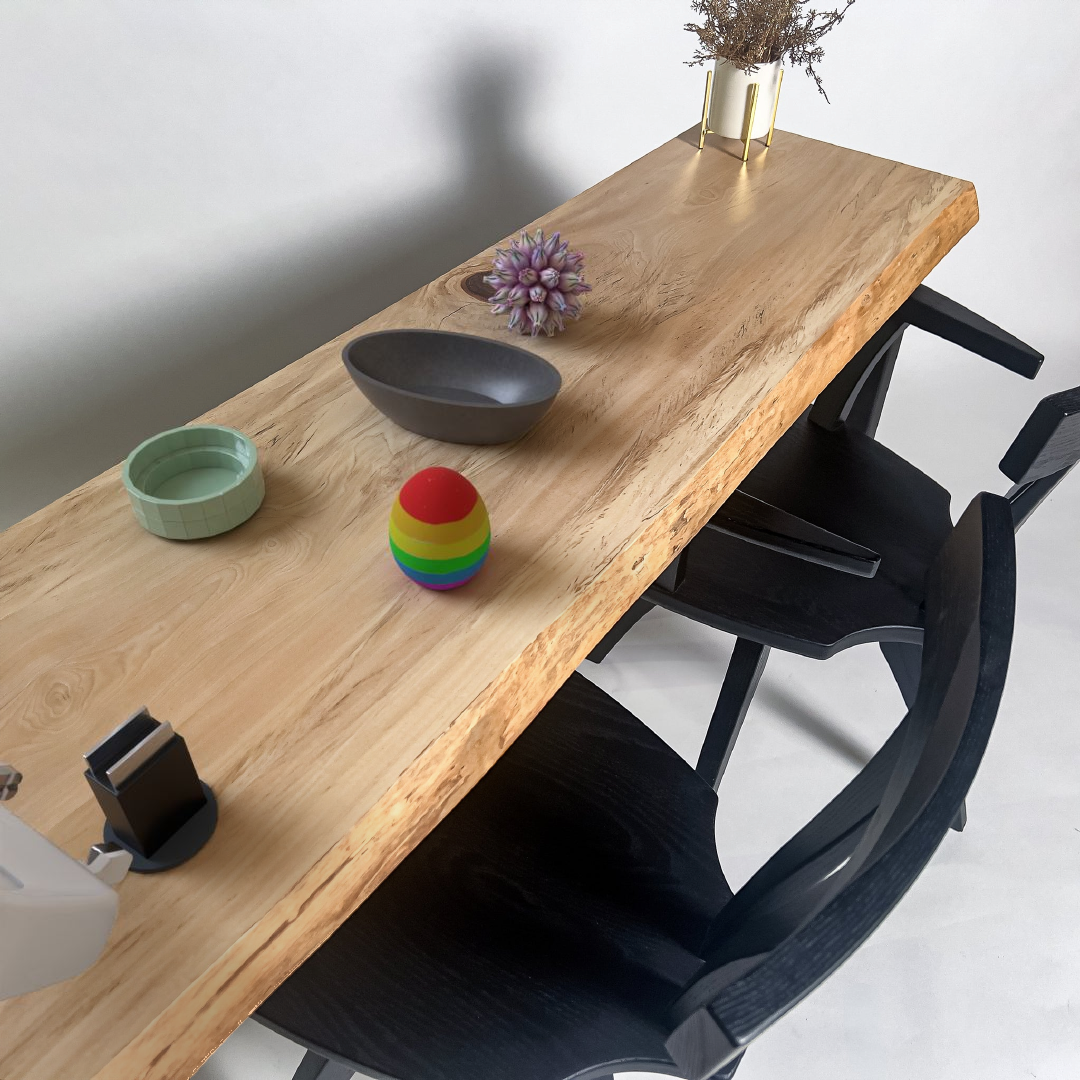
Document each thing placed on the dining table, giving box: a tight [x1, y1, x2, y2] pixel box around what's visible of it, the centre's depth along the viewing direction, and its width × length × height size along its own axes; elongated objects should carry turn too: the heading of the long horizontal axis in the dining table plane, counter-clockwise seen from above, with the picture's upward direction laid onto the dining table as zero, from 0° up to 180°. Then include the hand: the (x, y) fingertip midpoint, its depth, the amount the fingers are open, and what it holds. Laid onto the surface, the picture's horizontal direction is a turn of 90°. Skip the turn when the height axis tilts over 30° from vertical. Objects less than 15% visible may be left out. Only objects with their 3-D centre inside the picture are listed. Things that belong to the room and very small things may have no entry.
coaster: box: [102, 778, 219, 874], centre depth 62 cm, size 7×7×1 cm
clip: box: [82, 704, 208, 859], centre depth 59 cm, size 5×3×9 cm, turn 147°
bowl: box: [341, 328, 563, 446], centre depth 94 cm, size 12×22×6 cm, turn 71°
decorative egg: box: [388, 466, 492, 591], centre depth 77 cm, size 8×8×10 cm
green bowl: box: [121, 423, 266, 540], centre depth 85 cm, size 11×11×4 cm
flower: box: [482, 228, 593, 340], centre depth 106 cm, size 12×12×12 cm
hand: (64, 819), depth 55 cm, fingers open, 8 cm apart
